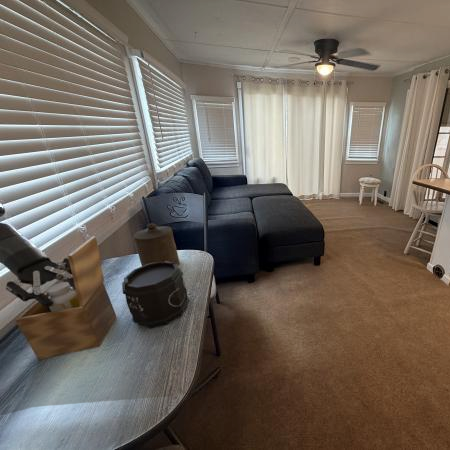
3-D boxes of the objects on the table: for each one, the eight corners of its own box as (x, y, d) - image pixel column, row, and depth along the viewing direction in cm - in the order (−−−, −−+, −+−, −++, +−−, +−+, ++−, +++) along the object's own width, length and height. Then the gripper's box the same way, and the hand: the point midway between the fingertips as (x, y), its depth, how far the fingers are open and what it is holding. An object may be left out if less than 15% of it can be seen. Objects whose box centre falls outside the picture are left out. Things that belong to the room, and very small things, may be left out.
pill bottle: (88, 308, 76) (74, 277, 72) (85, 320, 71) (71, 288, 67) (60, 316, 72) (44, 284, 68) (55, 330, 67) (38, 296, 63)
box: (38, 360, 67) (14, 320, 61) (65, 327, 78) (47, 291, 73) (99, 346, 70) (82, 307, 65) (116, 317, 82) (103, 282, 76)
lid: (67, 255, 60) (71, 255, 60) (92, 236, 71) (95, 236, 71) (79, 306, 65) (83, 306, 65) (101, 280, 76) (104, 280, 76)
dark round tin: (192, 289, 95) (184, 255, 89) (188, 321, 79) (178, 281, 73) (141, 300, 90) (129, 264, 84) (125, 336, 74) (109, 294, 68)
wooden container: (184, 259, 118) (175, 217, 110) (171, 275, 104) (159, 229, 96) (154, 260, 118) (142, 218, 109) (137, 277, 104) (121, 231, 96)
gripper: (-16, 261, 59) (36, 308, 60) (54, 237, 72) (96, 276, 73) (-18, 276, 62) (31, 320, 63) (49, 251, 75) (89, 288, 76)
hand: (66, 296), depth 68 cm, fingers closed on pill bottle, 6 cm apart
